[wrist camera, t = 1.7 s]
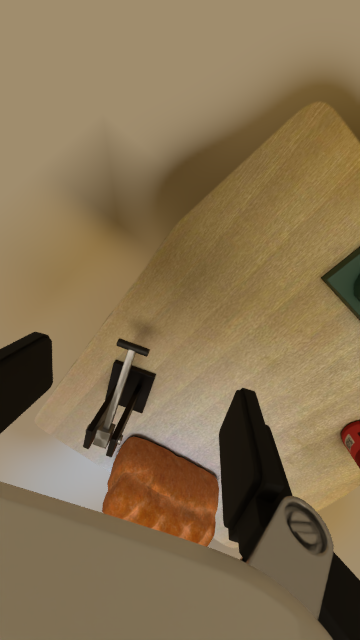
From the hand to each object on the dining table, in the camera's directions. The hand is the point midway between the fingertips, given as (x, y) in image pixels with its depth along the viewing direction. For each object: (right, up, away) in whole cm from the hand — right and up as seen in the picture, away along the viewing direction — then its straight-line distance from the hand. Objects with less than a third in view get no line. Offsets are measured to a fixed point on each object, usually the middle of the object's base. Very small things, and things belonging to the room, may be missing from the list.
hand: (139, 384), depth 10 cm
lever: (-8, -9, +24) cm, 27 cm away
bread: (-1, -36, +44) cm, 57 cm away
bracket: (-9, -12, +35) cm, 38 cm away
